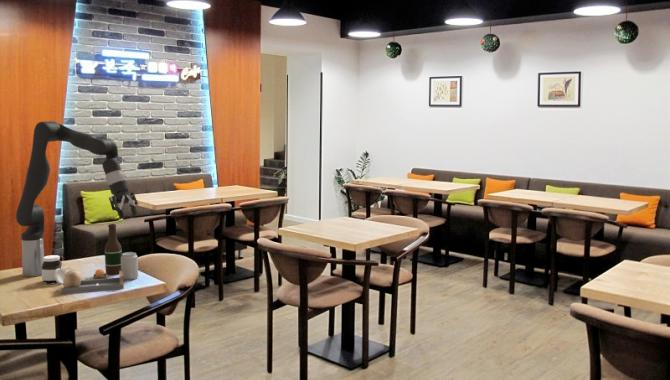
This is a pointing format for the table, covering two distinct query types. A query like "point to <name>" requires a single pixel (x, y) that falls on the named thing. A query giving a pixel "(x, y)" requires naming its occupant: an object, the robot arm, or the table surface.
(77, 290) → the lane
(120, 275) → the backstop
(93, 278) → the tee
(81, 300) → the table surface
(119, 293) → the table surface
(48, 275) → the spread jar
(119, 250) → the beer bottle
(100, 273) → the ball
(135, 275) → the can
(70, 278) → the log
